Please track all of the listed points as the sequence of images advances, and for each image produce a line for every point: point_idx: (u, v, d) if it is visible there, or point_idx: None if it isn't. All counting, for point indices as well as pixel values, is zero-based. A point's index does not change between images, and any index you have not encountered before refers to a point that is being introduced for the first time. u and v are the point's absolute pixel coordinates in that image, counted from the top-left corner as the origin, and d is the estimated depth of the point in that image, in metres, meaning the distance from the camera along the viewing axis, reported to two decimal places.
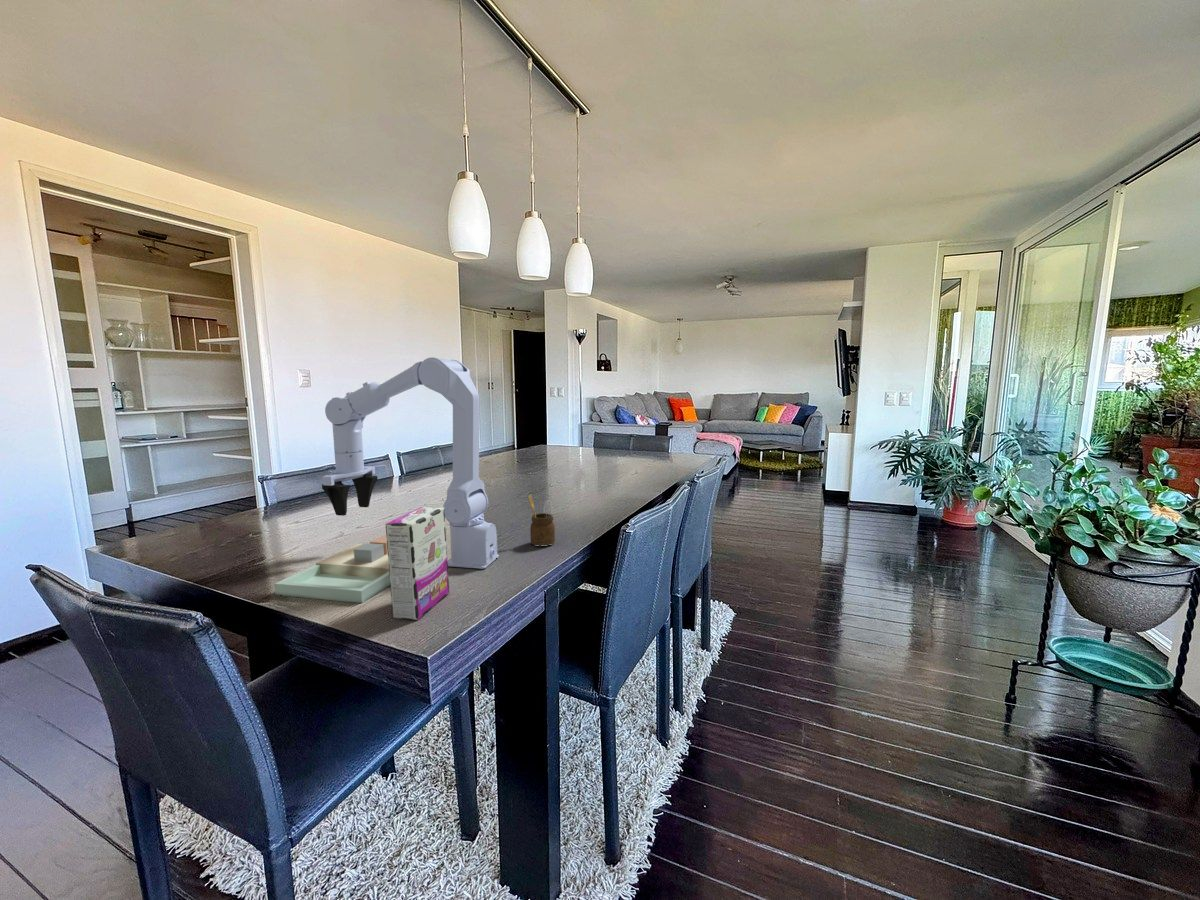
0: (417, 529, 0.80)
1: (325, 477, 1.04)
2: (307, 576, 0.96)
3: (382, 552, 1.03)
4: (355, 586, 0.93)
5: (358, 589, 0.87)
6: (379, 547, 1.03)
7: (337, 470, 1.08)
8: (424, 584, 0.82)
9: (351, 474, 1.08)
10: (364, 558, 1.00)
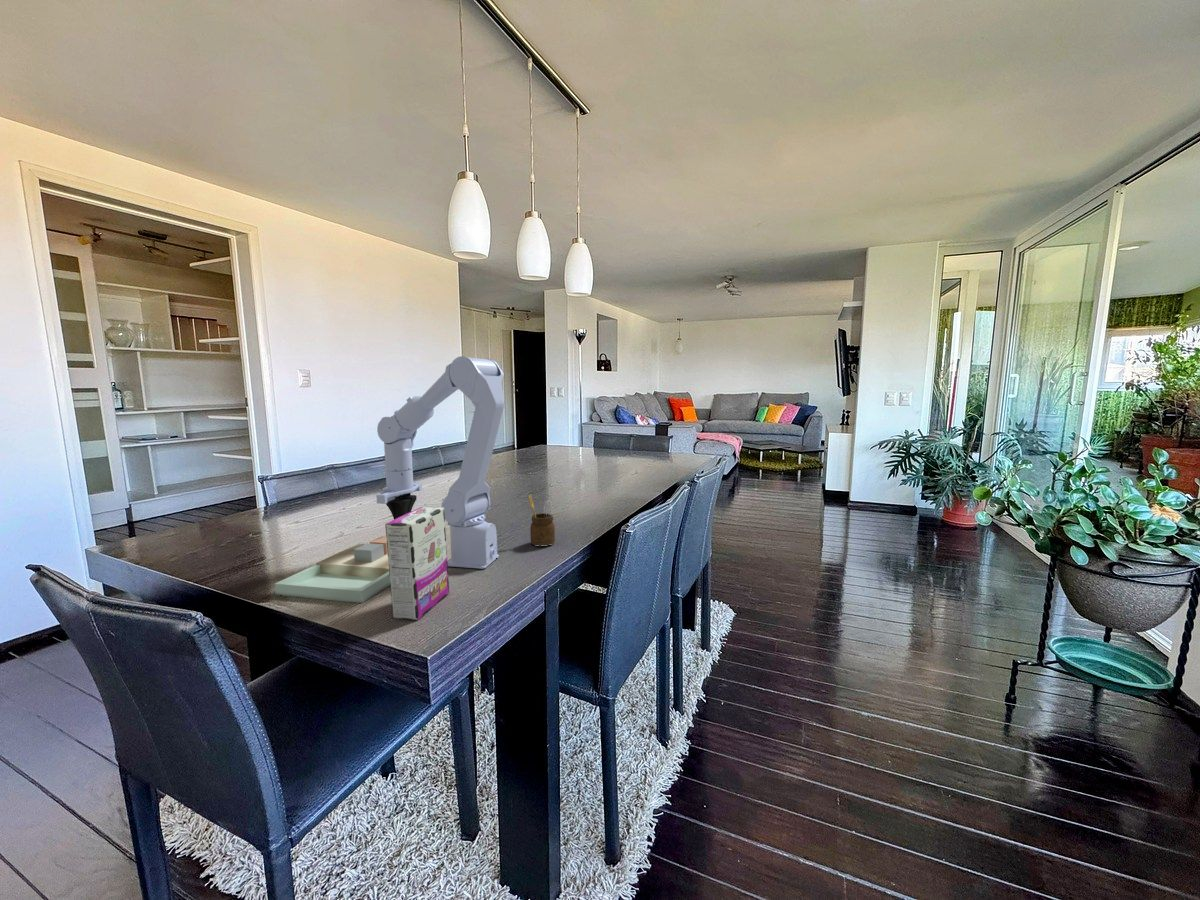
0: (417, 529, 0.80)
1: (379, 495, 1.06)
2: (307, 576, 0.96)
3: (382, 552, 1.03)
4: (355, 586, 0.93)
5: (358, 589, 0.87)
6: (379, 547, 1.03)
7: (388, 488, 1.10)
8: (424, 584, 0.82)
9: (402, 492, 1.10)
10: (364, 558, 1.00)
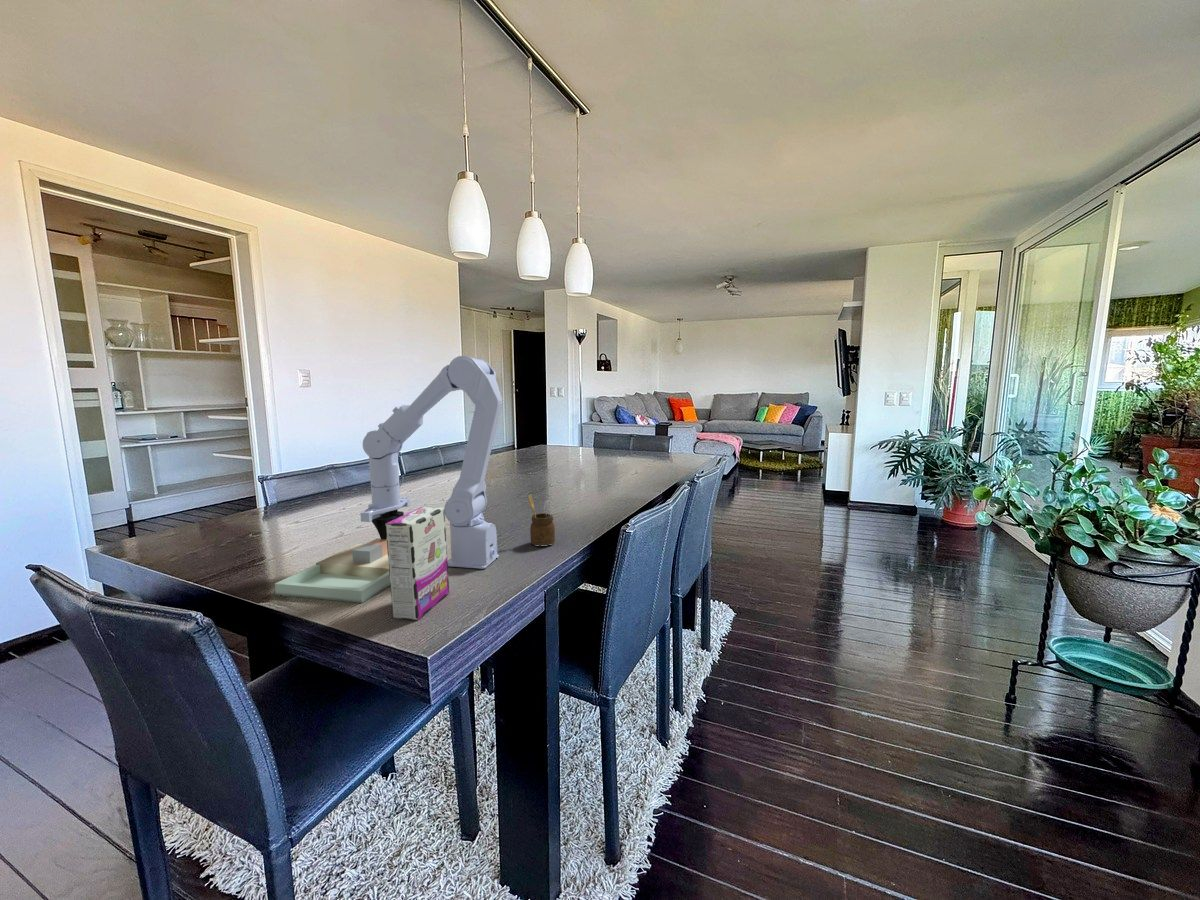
0: (417, 529, 0.80)
1: (363, 513, 1.01)
2: (307, 576, 0.96)
3: (381, 553, 1.03)
4: (355, 586, 0.93)
5: (358, 589, 0.87)
6: (378, 548, 1.02)
7: (374, 504, 1.05)
8: (424, 584, 0.82)
9: (388, 509, 1.05)
10: (362, 559, 1.00)
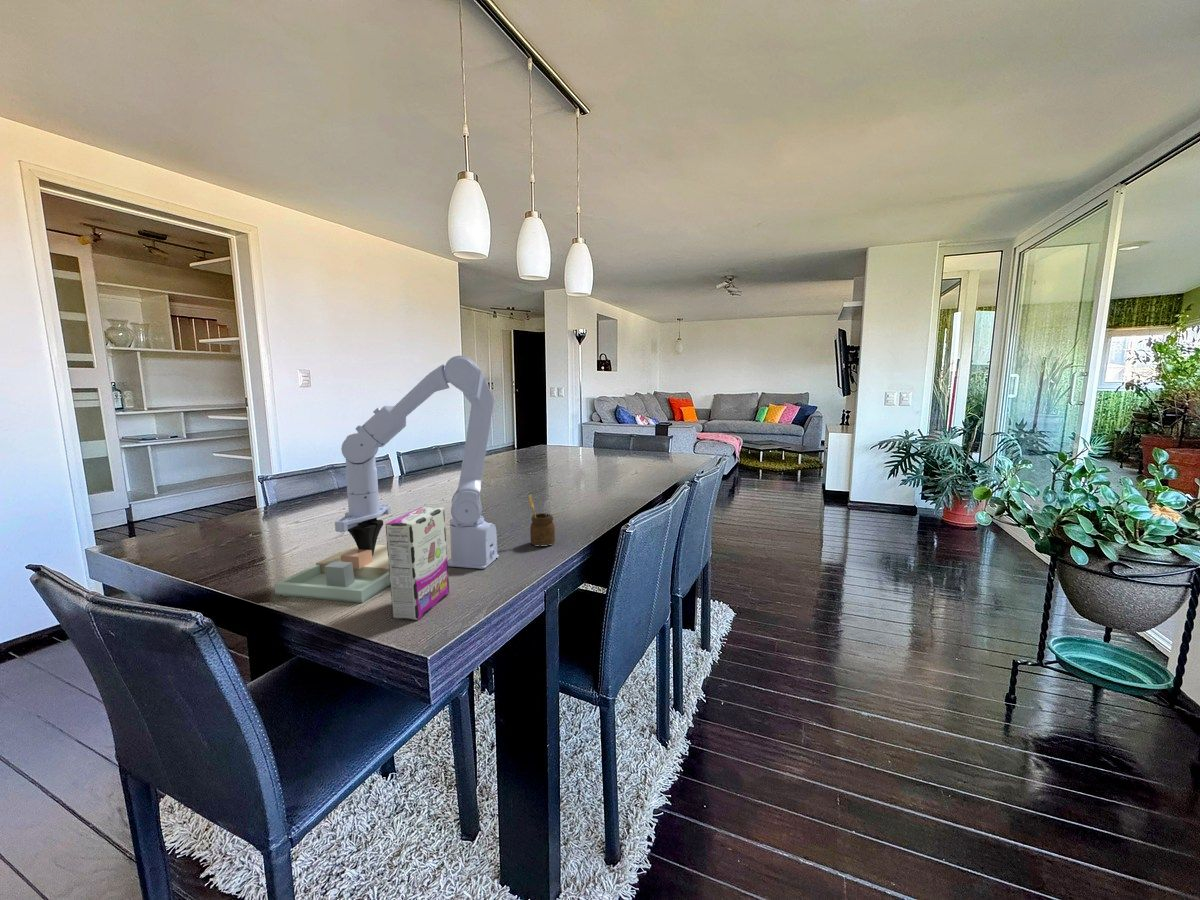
0: (417, 529, 0.80)
1: (337, 523, 0.94)
2: (307, 576, 0.96)
3: (349, 566, 0.94)
4: (355, 586, 0.93)
5: (358, 589, 0.87)
6: (344, 573, 0.92)
7: (350, 513, 0.98)
8: (424, 584, 0.82)
9: (366, 517, 0.98)
10: None
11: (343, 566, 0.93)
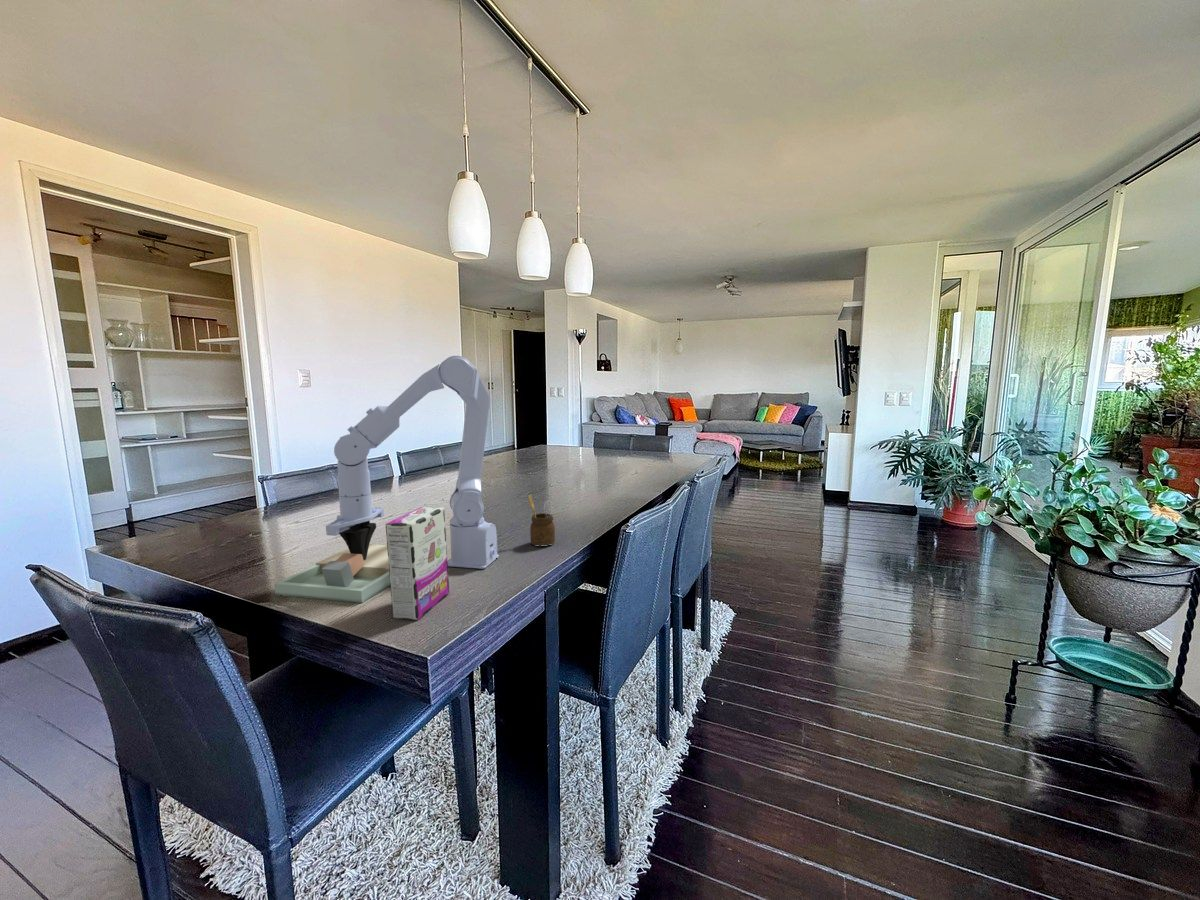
0: (417, 529, 0.80)
1: (329, 526, 0.91)
2: (307, 576, 0.96)
3: (346, 567, 0.93)
4: (355, 586, 0.93)
5: (358, 589, 0.87)
6: (342, 575, 0.92)
7: (342, 516, 0.96)
8: (424, 584, 0.82)
9: (358, 521, 0.95)
10: None
11: (340, 568, 0.92)
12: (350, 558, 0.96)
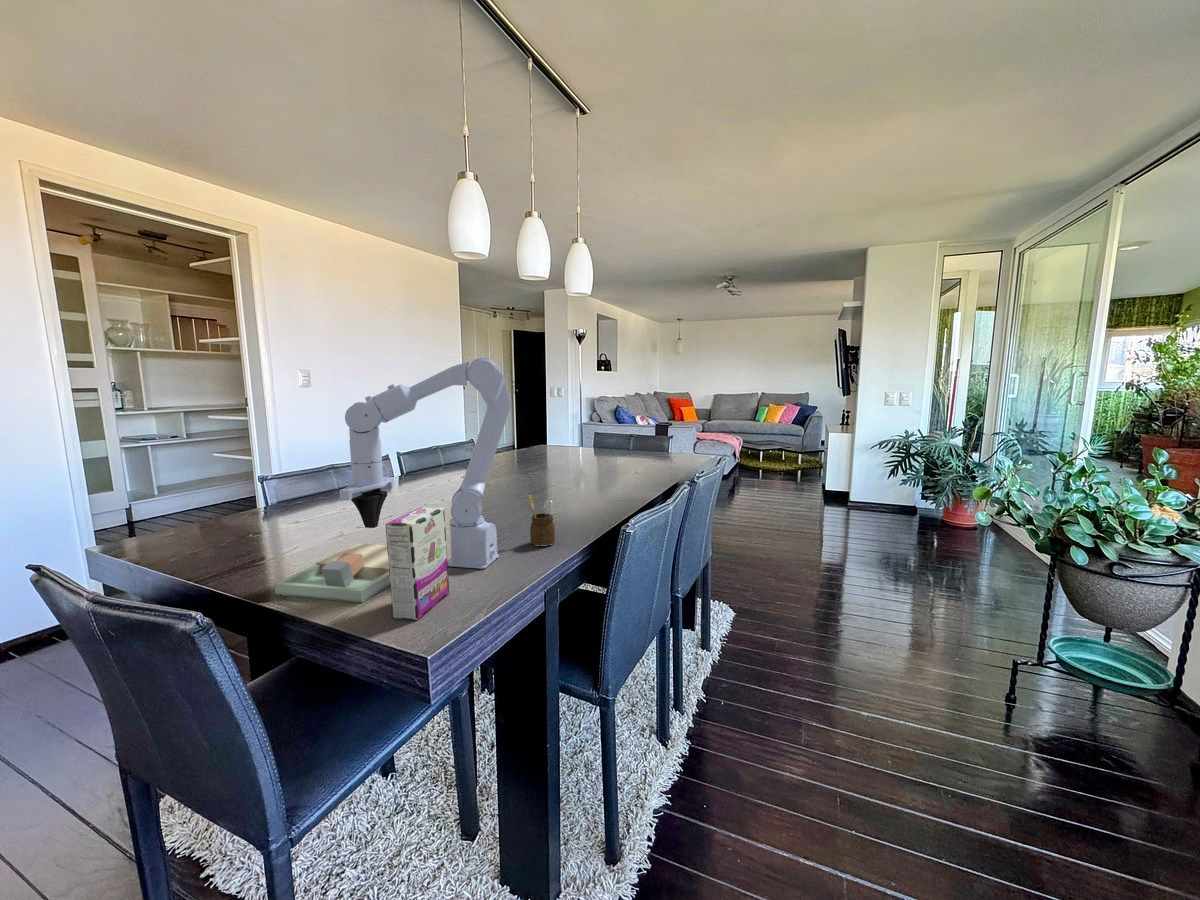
0: (417, 529, 0.80)
1: (342, 491, 0.93)
2: (307, 576, 0.96)
3: (346, 567, 0.93)
4: (355, 586, 0.93)
5: (358, 589, 0.87)
6: (342, 575, 0.92)
7: (354, 483, 0.98)
8: (424, 584, 0.82)
9: (370, 487, 0.97)
10: None
11: (340, 568, 0.92)
12: (350, 558, 0.96)
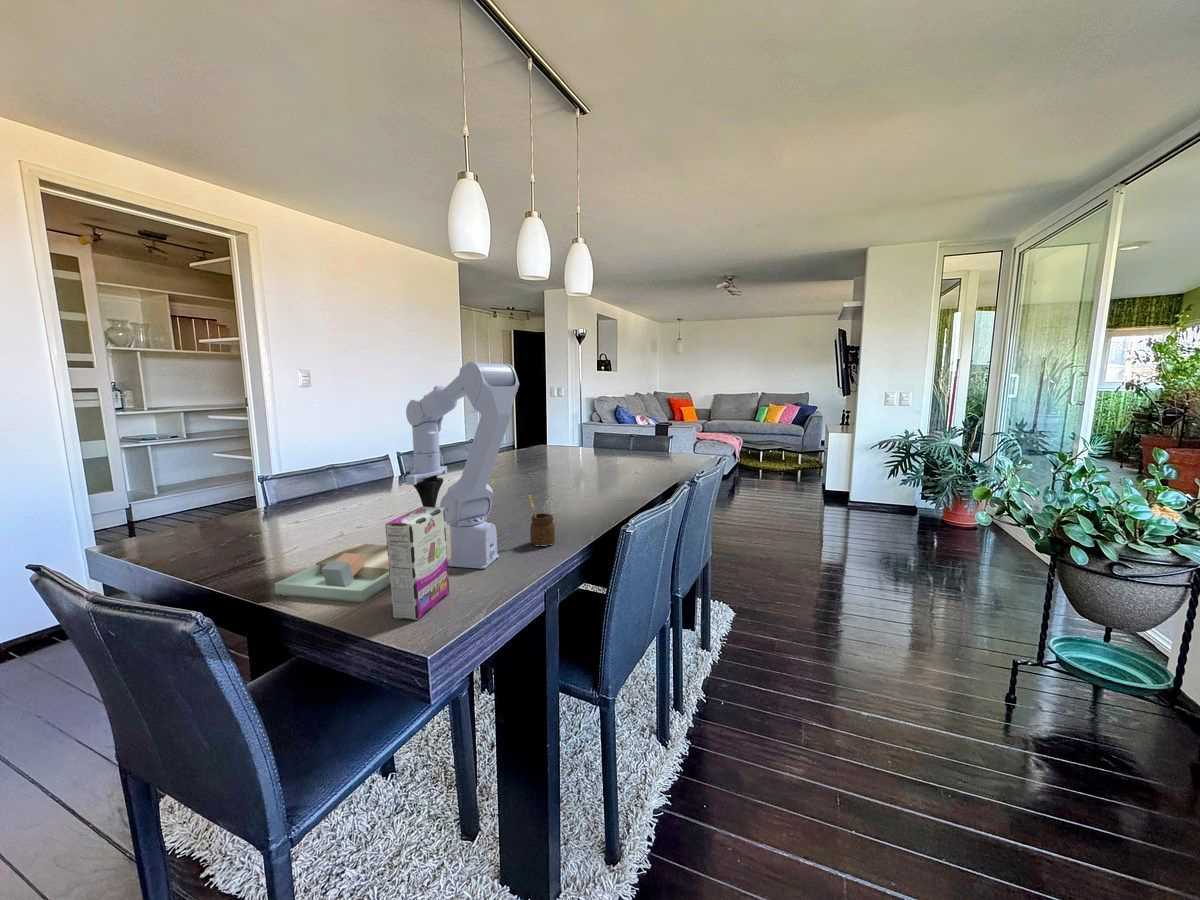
0: (417, 529, 0.80)
1: (408, 477, 1.08)
2: (307, 576, 0.96)
3: (346, 567, 0.93)
4: (355, 586, 0.93)
5: (358, 589, 0.87)
6: (342, 575, 0.92)
7: (416, 470, 1.12)
8: (424, 584, 0.82)
9: (430, 474, 1.12)
10: None
11: (340, 568, 0.92)
12: (350, 558, 0.96)
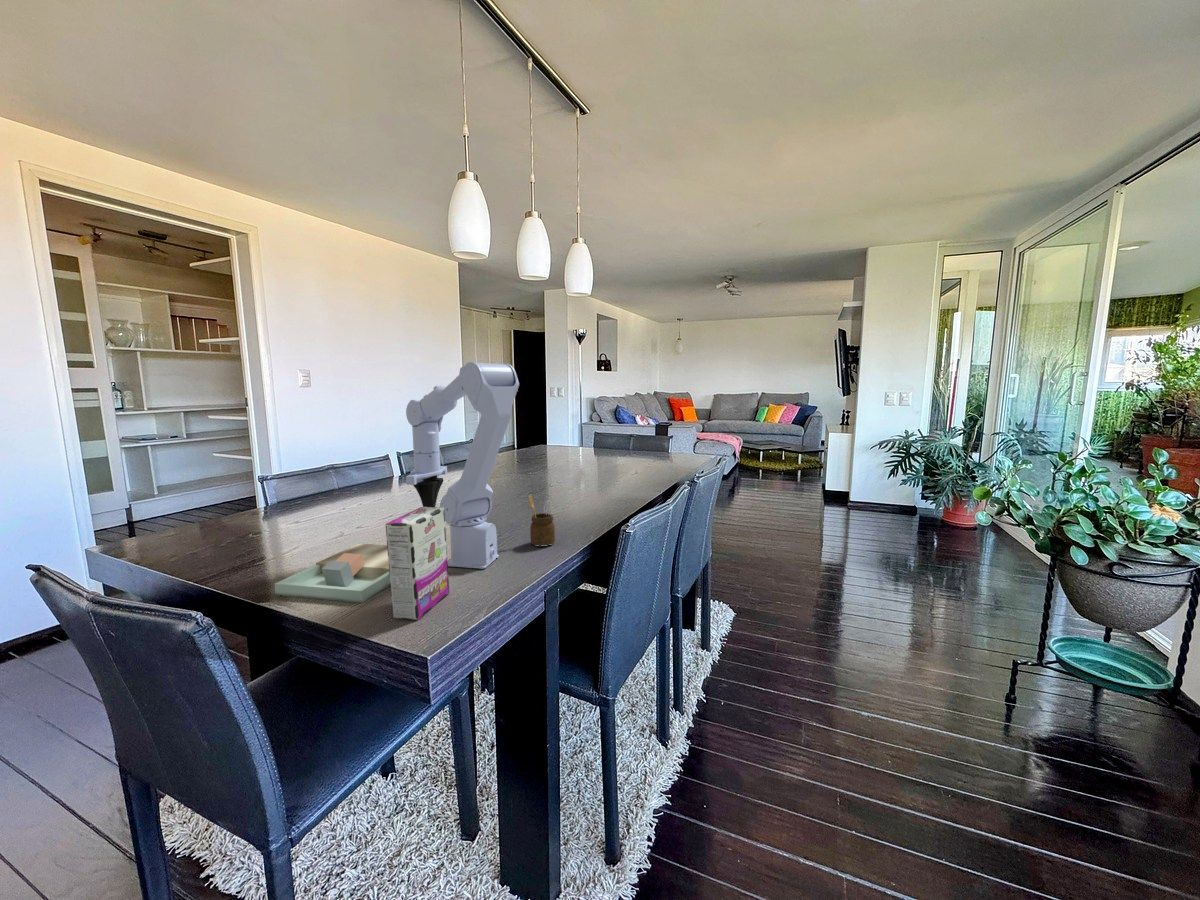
0: (417, 529, 0.80)
1: (408, 477, 1.08)
2: (307, 576, 0.96)
3: (346, 567, 0.93)
4: (355, 586, 0.93)
5: (358, 589, 0.87)
6: (342, 575, 0.92)
7: (416, 470, 1.12)
8: (424, 584, 0.82)
9: (430, 474, 1.12)
10: None
11: (340, 568, 0.92)
12: (350, 558, 0.96)
